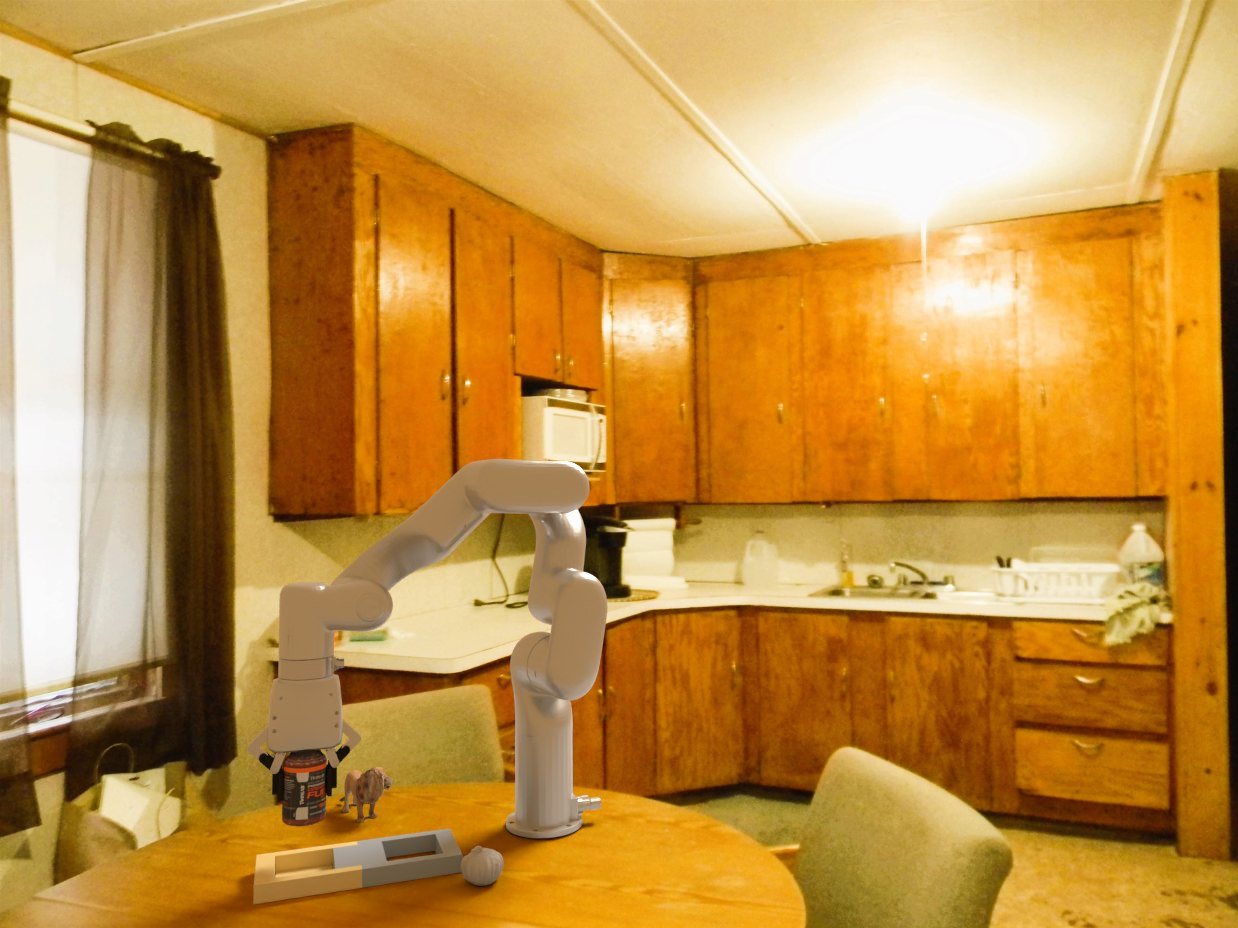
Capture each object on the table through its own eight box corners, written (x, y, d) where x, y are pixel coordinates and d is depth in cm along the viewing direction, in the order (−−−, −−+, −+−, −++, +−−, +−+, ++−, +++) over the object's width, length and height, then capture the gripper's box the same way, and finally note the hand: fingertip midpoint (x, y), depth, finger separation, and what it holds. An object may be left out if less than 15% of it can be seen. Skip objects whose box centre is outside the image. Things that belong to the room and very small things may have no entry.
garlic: (463, 893, 120) (463, 855, 120) (458, 877, 125) (458, 840, 126) (506, 888, 122) (506, 849, 122) (500, 872, 127) (500, 835, 127)
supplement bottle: (311, 829, 122) (312, 746, 122) (273, 826, 123) (274, 744, 123) (334, 814, 127) (334, 735, 128) (297, 812, 129) (297, 733, 129)
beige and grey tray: (449, 844, 137) (449, 828, 138) (462, 872, 127) (462, 854, 127) (256, 872, 128) (256, 854, 128) (253, 904, 117) (253, 885, 117)
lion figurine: (396, 820, 148) (397, 766, 149) (368, 828, 145) (368, 773, 145) (352, 800, 159) (353, 749, 159) (325, 807, 155) (325, 756, 155)
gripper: (366, 660, 133) (365, 782, 132) (242, 668, 127) (240, 795, 126) (370, 669, 126) (369, 797, 125) (239, 678, 120) (237, 812, 119)
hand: (304, 795), depth 125 cm, fingers closed on supplement bottle, 6 cm apart
